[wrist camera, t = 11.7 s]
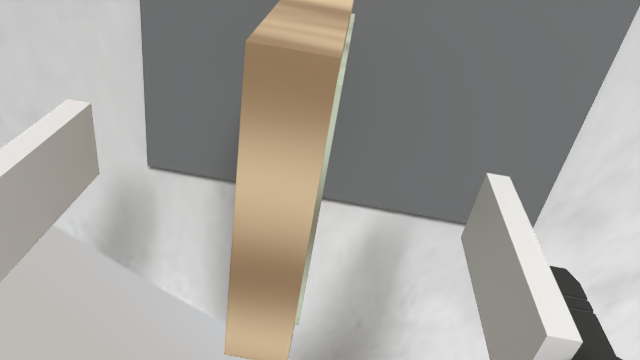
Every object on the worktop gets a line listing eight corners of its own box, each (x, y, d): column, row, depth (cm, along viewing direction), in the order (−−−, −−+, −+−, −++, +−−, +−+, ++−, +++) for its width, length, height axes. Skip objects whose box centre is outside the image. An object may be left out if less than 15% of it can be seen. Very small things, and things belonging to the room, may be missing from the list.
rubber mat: (150, 161, 26) (147, 165, 25) (139, -99, 19) (135, -99, 19) (527, 230, 25) (529, 234, 25) (641, -11, 19) (646, -9, 19)
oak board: (303, -28, 20) (245, 41, 11) (360, -17, 20) (347, 58, 11) (276, 196, 25) (224, 354, 17) (320, 204, 25) (291, 366, 17)
